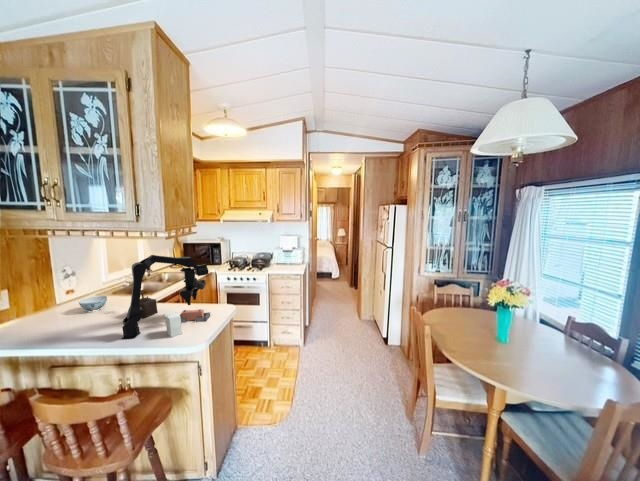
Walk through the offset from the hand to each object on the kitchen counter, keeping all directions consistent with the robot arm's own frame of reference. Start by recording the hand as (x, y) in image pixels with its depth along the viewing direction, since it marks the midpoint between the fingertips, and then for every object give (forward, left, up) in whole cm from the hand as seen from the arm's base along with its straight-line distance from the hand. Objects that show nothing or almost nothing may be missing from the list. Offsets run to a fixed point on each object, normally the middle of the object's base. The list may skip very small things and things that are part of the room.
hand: (192, 302), depth 165 cm
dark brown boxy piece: (-37, +14, -11) cm, 41 cm away
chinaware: (-75, +27, -11) cm, 81 cm away
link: (0, 0, -11) cm, 11 cm away
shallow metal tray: (0, 0, -11) cm, 11 cm away
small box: (-4, -18, -11) cm, 22 cm away
